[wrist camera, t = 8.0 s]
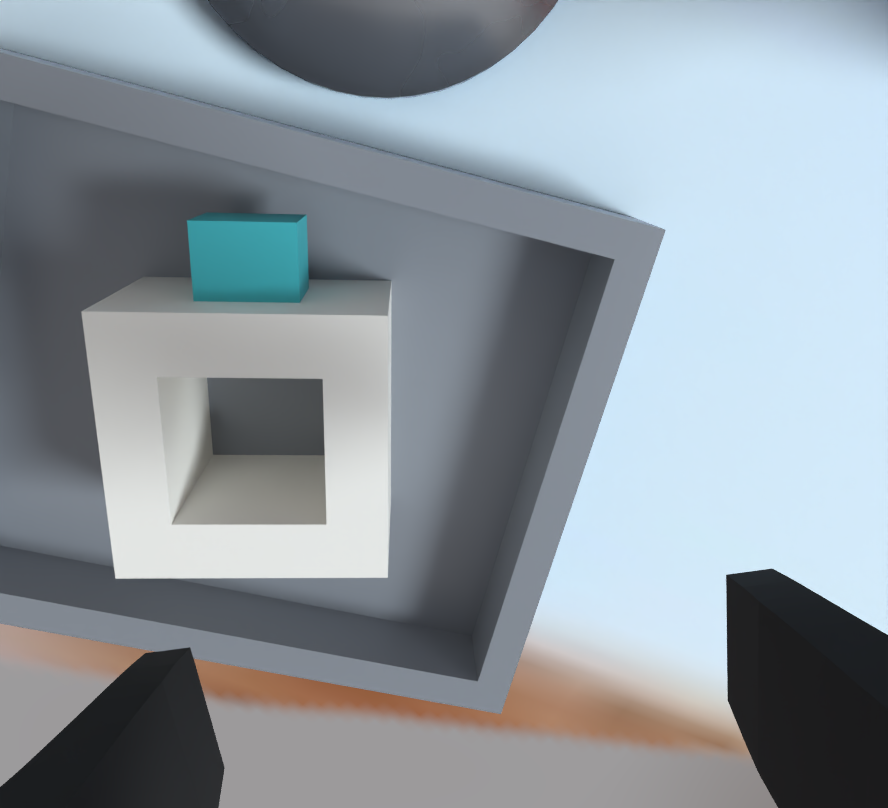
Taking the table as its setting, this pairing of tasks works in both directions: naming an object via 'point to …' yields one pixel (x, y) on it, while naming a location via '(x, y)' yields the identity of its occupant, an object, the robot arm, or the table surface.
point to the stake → (384, 40)
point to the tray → (306, 380)
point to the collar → (188, 416)
